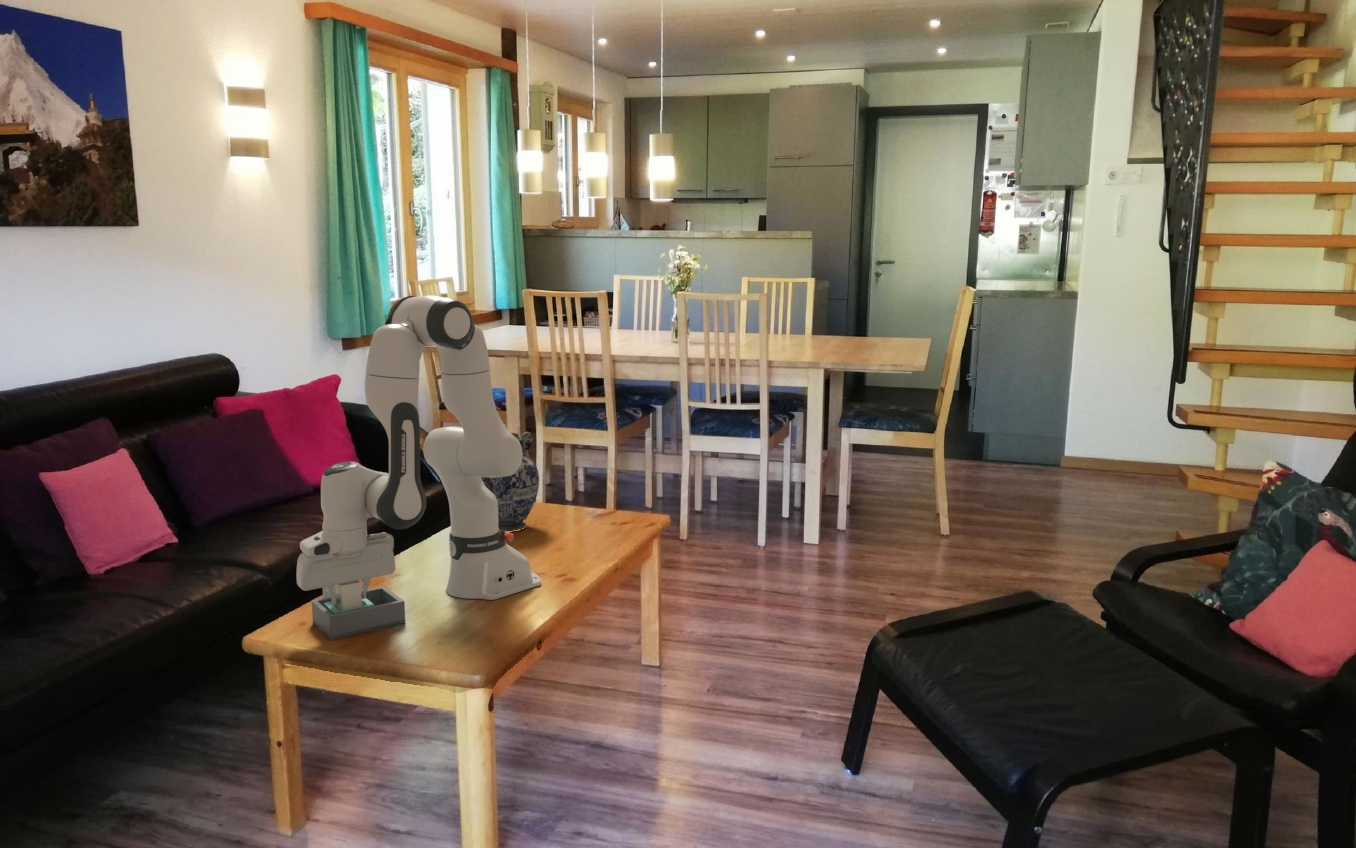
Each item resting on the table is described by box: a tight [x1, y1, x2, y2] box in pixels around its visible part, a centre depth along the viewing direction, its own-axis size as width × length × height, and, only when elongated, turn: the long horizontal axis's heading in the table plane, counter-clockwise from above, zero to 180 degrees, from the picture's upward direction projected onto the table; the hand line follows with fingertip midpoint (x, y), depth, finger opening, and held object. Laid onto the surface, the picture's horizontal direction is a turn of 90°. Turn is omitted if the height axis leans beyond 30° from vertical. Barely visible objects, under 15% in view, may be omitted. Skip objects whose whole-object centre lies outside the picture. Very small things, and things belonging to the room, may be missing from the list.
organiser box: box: [311, 585, 406, 641], centre depth 206 cm, size 16×12×5 cm
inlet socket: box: [323, 599, 374, 615], centre depth 205 cm, size 8×8×4 cm
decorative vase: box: [481, 431, 540, 531], centre depth 279 cm, size 21×19×28 cm
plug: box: [336, 580, 362, 611], centre depth 205 cm, size 4×4×9 cm
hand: (348, 601), depth 205 cm, fingers closed on plug, 4 cm apart
